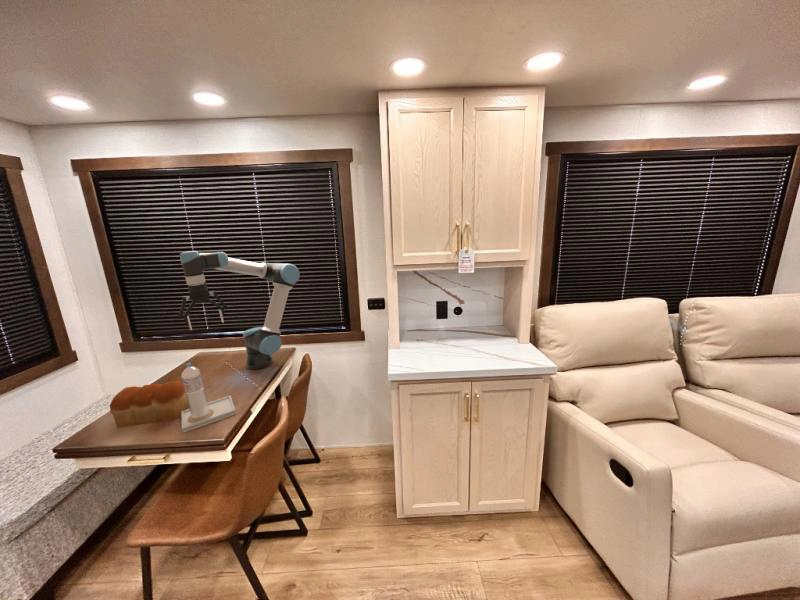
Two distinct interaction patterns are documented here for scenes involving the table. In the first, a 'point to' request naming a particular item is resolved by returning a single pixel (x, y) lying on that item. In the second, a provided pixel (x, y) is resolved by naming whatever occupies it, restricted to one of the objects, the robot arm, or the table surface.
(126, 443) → the table surface
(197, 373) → the water bottle
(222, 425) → the table surface
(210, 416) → the tray
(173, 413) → the bread
